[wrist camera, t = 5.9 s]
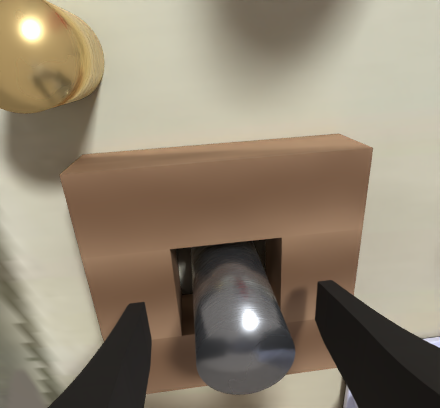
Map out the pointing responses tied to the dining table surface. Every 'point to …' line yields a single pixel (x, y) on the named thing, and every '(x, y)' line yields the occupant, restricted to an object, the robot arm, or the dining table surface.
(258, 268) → the long pin
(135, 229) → the hole block
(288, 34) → the dining table surface
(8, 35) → the short pin
